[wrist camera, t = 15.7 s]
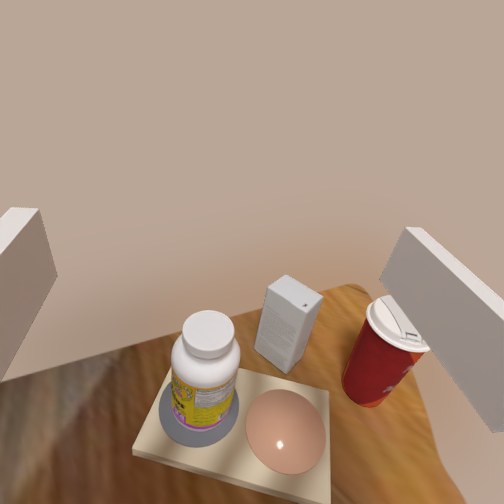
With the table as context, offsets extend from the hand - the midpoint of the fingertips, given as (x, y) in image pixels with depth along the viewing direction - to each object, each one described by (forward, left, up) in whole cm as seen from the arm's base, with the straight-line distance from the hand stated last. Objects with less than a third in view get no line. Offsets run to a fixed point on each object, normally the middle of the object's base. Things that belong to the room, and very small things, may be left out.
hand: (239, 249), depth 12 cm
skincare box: (+5, +20, -30) cm, 37 cm away
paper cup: (+17, +18, -30) cm, 39 cm away
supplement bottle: (-3, +9, -28) cm, 30 cm away
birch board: (+2, +9, -30) cm, 31 cm away
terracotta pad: (+7, +9, -28) cm, 31 cm away
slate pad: (-3, +9, -28) cm, 30 cm away
